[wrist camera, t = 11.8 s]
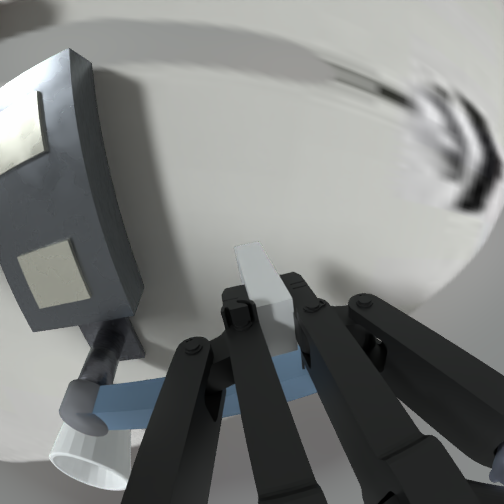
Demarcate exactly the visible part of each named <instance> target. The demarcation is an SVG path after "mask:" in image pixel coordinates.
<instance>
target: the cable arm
mask: <svg viewBox="0 0 504 504" xmlns="http://www.w3.org/2000/svg"><path fill="white" fill-rule="evenodd" d="M297 346H298V350H296V351H292V352H289V353H285V354H281V355H277V356H274V357H271V358H272V360H273V363H274V366H275V369H276V372H277V375H278V378H279V380H280V383H281V386H282V389H283V392H284V395H285V397H286V400H287V402H288V401H292V400H295V399H298V398H302V397H305V396H308V395H311V394H314V393H317V390H316V388H315V386H314V384H313V382H312V380H311V377H310V375H309V373H308V371H307V369H306V367H305V369H303V370H302V361H301V350H300V347H299V345H297ZM164 380H165V377H162V378H156V379H150V380H143V381H137V382H129V383H121V384H113V385H104V386H100V385H98V384H96V383H94V382H91V381H88V380H83V379H76V380H73V381H71V382H70V383H69V385H68V388H67V390H66V393H65V396H64V398H63V401H62V403H61V406H60V409H59V414H60V416H61V418H62V419H63V421H64V422H65V423H66V424H68V425H69V426H70V427H72V428H73V429H75V430H77V431H79V432H81V433H83V434H86V435H90V436H96V437H100V436H104V435H106V434H107V433H108V431H109V430H127V429H143V428H147V425H148V423H149V420H150V417H151V414H152V412H153V409H154V406H155V404H156V401H157V398H158V396H159V393H160V390H161V388H162V385H163V383H164ZM238 414H241V413H240V408H239V402H238V397H237V392H236V386H235V384H233V385H231V386H229V387H227V388H226V397H225V403H224V409H223V415H222V418H223V417H228V416H233V415H238Z"/></svg>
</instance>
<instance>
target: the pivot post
mask: <svg viewBox="0 0 504 504" xmlns="http://www.w3.org/2000/svg"><path fill="white" fill-rule="evenodd" d="M78 326H79V327H80V329H81V331H82V333H83V335H84V337H85V338H86V340H87V342H88V344H89V346H90V347H91V349H90V351H89V354H88V356H87V358H86V361H85V363H84V366H83V368H82V371H81V373H80V376H79V378H78V379H83V380H88V381H91V382H94V383H96V384H98V385H100V386H104V385H112V384H113V380H114V377H115V373H116V370H117V366H118V363H119V361H122V360H130V359H138V358H145V351H144V349H143V347H142V345H141V343H140V341H139V339H138V337H137V335H136V333H135V331H134V329H133V326H132V324H131V322H130V320H129V318H128V317H123V318H118V319H112V320H107V321H101V322H95V323H89V324H83V325H78Z"/></svg>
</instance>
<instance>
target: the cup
mask: <svg viewBox="0 0 504 504" xmlns="http://www.w3.org/2000/svg"><path fill="white" fill-rule="evenodd" d="M49 458H50V460H51V462H52V463H53V464H54V465H55V466H56V467H57V468H58V469H60V470H61V471H62V472H64V473H65V474H67V475H68V476H70V477H72V478H74V479H76V480H78V481H80V482H83V483H85V484H88V485H91V486H94V487H98V488H102V489H107V490H125V489H126V486H127V483H128V480H129V477H130V474H131V429H127V430H109V431H108V433H107V434H106V435H104V436H100V437H96V436H90V435H86V434H83V433H81V432H79V431H77V430H75V429H73V428H72V427H70V426H69V425H68V424H66V423H65V422H64V423H63V425H62V427H61V429H60V432H59V434H58V436H57V438H56V441H55V443H54V445H53V448H52V450H51V452H50V455H49Z"/></svg>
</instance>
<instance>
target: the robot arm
mask: <svg viewBox="0 0 504 504" xmlns="http://www.w3.org/2000/svg"><path fill="white" fill-rule="evenodd" d="M234 249H235V254H236V259H237V264H238V268H239V273H240V278H241V282H242V285H239V286H235V287H231V288H226V289H225V290H224V291H223V293H222V301H223V307H222V308H221V315H222V318H223V322H224V325H225V331H224V332H223V333H222V334H221V335H220V336H219V337H217V338H215V339H213V340H211V341H208V340H207V339H206V338H203V337H192V338H189V339H186V340H184V341H183V342H182V343H180V344H179V346H178V347H177V349H176V352H175V354H174V357H173V359H172V362H171V364H170V367H169V370H168V372H167V375H166V377H165V380H164V383H163V385H162V388H161V390H160V393H159V396H158V398H157V401H156V404H155V406H154V409H153V412H152V414H151V417H150V420H149V423H148V425H147V428H146V431H145V434H144V436H143V439H142V442H141V445H140V448H139V451H138V454H137V456H136V459H135V462H134V465H133V468H132V471H131V474H130V477H129V480H128V483H127V486H126V489H125V492H124V495H123V498H122V502H121V504H207V503H208V497H209V491H210V485H211V480H212V473H213V468H214V461H215V456H216V449H217V444H218V438H219V432H220V426H221V420H222V415H223V409H224V403H225V397H226V388H227V387H229V386H231V385H233V384H235V386H236V392H237V397H238V402H239V408H240V413H241V418H242V423H243V428H244V433H245V438H246V443H247V447H248V452H249V457H250V461H251V466H252V470H253V475H254V479H255V483H256V488H257V492H258V504H327V501H326V498H325V496H324V493H323V491H322V489H321V487H320V486H319V485H318V484H317V482H316V480H315V477H314V474H313V472H312V469H311V466H310V464H309V461H308V458H307V456H306V453H305V450H304V447H303V445H302V442H301V439H300V437H299V434H298V431H297V428H296V425H295V423H294V420H293V417H292V414H291V412H290V409H289V406H288V403H287V400H286V397H285V395H284V392H283V389H282V386H281V383H280V380H279V378H278V375H277V372H276V369H275V366H274V363H273V360H272V358H271V357H274V356H277V355H281V354H285V353H289V352H292V351H296V350H298V346H297V342H298V344H299V347H300V350H301V361H302V370H303V369H305V367H306V369H307V371H308V373H309V375H310V377H311V380H312V382H313V384H314V386H315V388H316V390H317V392H318V395H319V397H320V399H321V401H322V403H323V405H324V408H325V410H326V412H327V414H328V416H329V418H330V421H331V423H332V425H333V427H334V429H335V431H336V434H337V436H338V438H339V440H340V442H341V444H342V446H343V449H344V451H345V453H346V455H347V457H348V460H349V462H350V464H351V466H352V468H353V470H354V473H355V475H356V477H357V479H358V481H359V483H360V486H361V489H362V496H363V501H364V504H504V486H497V485H492V484H486V483H481V482H476V481H472V480H467V479H465V478H464V476H463V474H462V473H461V471H460V470H459V468H458V467H457V466H456V464H455V463H454V461H453V459H452V458H451V456H450V455H449V453H448V452H447V450H446V449H445V447H444V446H443V445H442V443H441V442H440V441H439V440H438V439H437V438H436V437H434V436H433V435H424V434H422V433H421V432H420V431H419V429H418V428H417V427H416V425H415V424H414V422H413V421H412V419H411V418H410V416H409V415H408V413H407V412H406V410H405V409H404V408H403V406H402V405H401V403H400V402H399V400H398V399H400V400H401V401H402V402H403V403H404V404H405V405H407V406H408V407H409V408H410V409H411V410H412V411H414V412H415V413H416V414H417V415H418V416H420V417H421V418H422V419H423V420H424V421H425V422H427V423H428V424H429V425H430V426H431V427H433V428H434V429H435V430H436V431H437V432H439V433H440V434H441V435H442V436H443V437H445V438H446V439H447V440H448V441H449V442H451V443H452V444H453V445H454V446H456V447H457V448H458V449H459V450H460V451H462V452H463V453H464V454H465V455H467V456H468V457H469V458H471V459H472V460H474V461H476V462H478V463H479V464H481V465H483V466H487V467H490V468H492V470H491V472H490V474H489V479H490V480H491V482H494V483H495V482H500V483H502V484H503V485H504V376H503V375H502V374H500V373H499V372H497V371H496V370H494V369H493V368H491V367H489V366H488V365H486V364H485V363H483V362H482V361H480V360H479V359H477V358H475V357H474V356H472V355H470V354H469V353H468V352H466V351H464V350H463V349H461V348H460V347H458V346H456V345H455V344H453V343H452V342H450V341H449V340H447V339H445V338H444V337H442V336H441V335H439V334H437V333H436V332H434V331H433V330H431V329H429V328H428V327H426V326H425V325H423V324H421V323H420V322H418V321H416V320H415V319H413V318H411V317H410V316H408V315H406V314H405V313H403V312H402V311H400V310H398V309H397V308H395V307H393V306H392V305H390V304H388V303H387V302H385V301H383V300H382V299H380V298H378V297H377V296H374V295H372V294H366V293H362V294H357V295H354V296H353V297H351V298H350V300H349V302H348V306H330V305H329V303H328V302H326V301H325V300H323V299H320V298H317V297H316V295H315V294H314V293H313V291H312V290H311V289H310V287H309V286H308V284H307V283H306V282H305V280H304V279H303V278H302V276H301V275H299V274H297V273H295V272H291V273H287V274H283V275H279V274H278V273H277V271H276V269H275V267H274V266H273V264H272V262H271V261H270V259H269V257H268V256H267V254H266V252H265V250H264V249H263V247H262V245H261V244H260V242H259V241H258V242H253V243H249V244H244V245H240V246H235V247H234ZM377 338H378V339H380V340H381V341H382V342H381V341H379V340H378V339H377ZM397 398H398V399H397Z"/></svg>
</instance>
